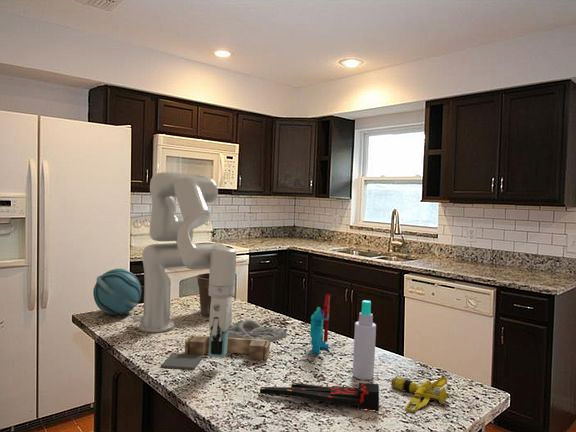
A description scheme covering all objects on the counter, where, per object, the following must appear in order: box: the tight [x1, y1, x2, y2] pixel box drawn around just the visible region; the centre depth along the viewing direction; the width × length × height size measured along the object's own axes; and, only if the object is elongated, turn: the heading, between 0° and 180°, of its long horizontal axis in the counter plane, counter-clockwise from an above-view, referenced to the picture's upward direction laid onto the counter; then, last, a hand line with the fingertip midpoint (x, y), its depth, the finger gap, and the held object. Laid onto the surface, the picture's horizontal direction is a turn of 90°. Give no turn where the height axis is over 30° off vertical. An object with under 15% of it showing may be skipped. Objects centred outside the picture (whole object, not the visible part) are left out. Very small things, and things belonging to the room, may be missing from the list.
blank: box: [208, 328, 228, 359], centre depth 131 cm, size 4×4×7 cm
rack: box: [184, 334, 271, 362], centre depth 142 cm, size 26×7×4 cm, turn 86°
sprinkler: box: [390, 376, 448, 413], centre depth 118 cm, size 19×4×15 cm
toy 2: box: [309, 293, 331, 355], centre depth 148 cm, size 18×6×15 cm
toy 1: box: [92, 268, 142, 316], centre depth 182 cm, size 18×20×20 cm
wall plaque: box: [228, 319, 288, 343], centre depth 164 cm, size 24×19×4 cm
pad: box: [160, 352, 204, 371], centre depth 135 cm, size 10×10×1 cm
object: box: [195, 272, 211, 317], centre depth 190 cm, size 16×16×16 cm
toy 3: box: [259, 382, 380, 412], centre depth 114 cm, size 8×5×30 cm
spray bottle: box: [352, 299, 377, 381], centre depth 129 cm, size 6×6×22 cm
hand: (218, 350), depth 131 cm, fingers closed on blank, 4 cm apart
